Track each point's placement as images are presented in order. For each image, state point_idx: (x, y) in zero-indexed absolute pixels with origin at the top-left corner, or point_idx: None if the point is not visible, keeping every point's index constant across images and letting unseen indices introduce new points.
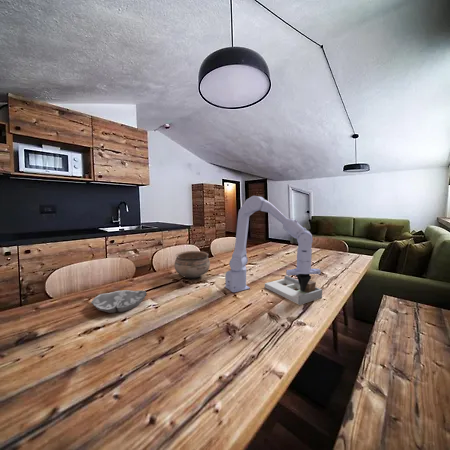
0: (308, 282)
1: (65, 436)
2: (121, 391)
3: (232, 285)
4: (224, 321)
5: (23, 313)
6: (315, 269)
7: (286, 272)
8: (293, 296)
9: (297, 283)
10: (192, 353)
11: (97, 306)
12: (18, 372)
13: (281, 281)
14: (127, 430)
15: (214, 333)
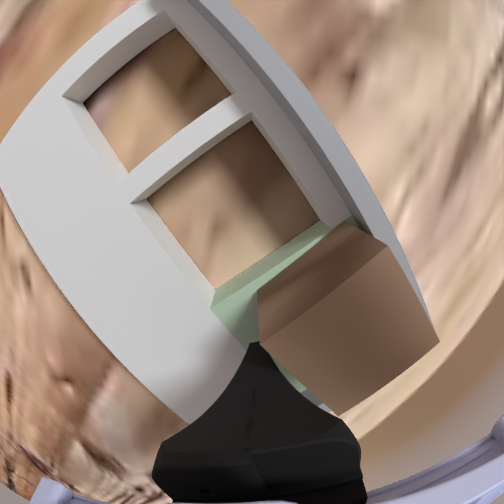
0: (354, 370)
1: (27, 498)
2: (21, 488)
3: None
4: (12, 439)
5: None
6: (489, 499)
7: (37, 496)
8: (173, 403)
9: (277, 101)
10: (31, 481)
11: None
12: None
13: (120, 46)
14: None
15: (23, 462)
